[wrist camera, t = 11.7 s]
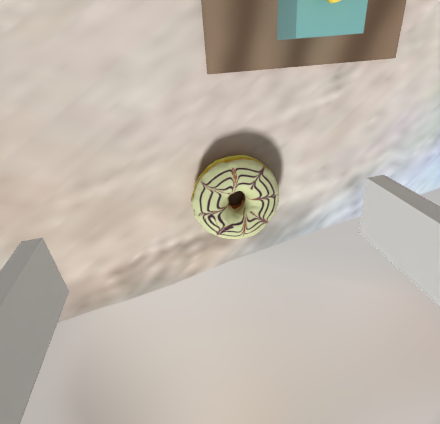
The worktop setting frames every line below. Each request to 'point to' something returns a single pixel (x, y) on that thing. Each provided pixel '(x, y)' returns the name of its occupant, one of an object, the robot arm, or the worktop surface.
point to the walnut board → (291, 48)
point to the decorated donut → (228, 184)
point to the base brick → (320, 18)
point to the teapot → (332, 1)
